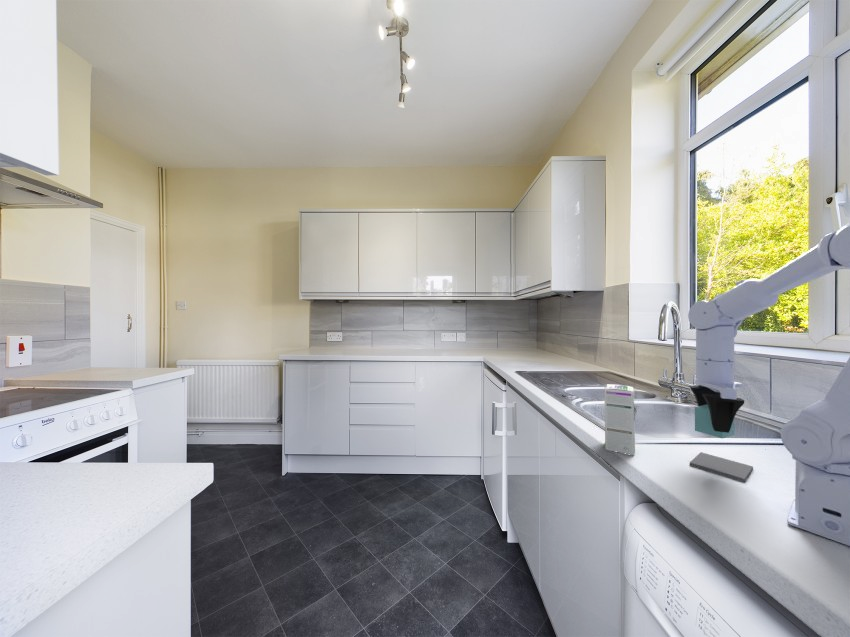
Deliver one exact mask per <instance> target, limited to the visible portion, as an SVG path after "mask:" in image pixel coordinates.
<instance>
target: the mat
mask: <svg viewBox="0 0 850 637" xmlns="http://www.w3.org/2000/svg"><path fill="white" fill-rule="evenodd" d="M689 466H690V467H694V468H697V469H701V470H704V471H708V472H711V473H714V474H717V475H721V476H723V477H726V478H730V479H733V480H737V481H740V482H743V483H745V482H746V481H747V480H748V478H749V476H750V475H751V473H752V471H753V470H754V466H752V465H750V464H749V465H748V464H745V463H742V462H738V461H735V460H731V459H727V458H723V457H720V456H716V455H713V454H709V453H706V452H702V451H701V452H700V453H698V454H696V456H695V457H694V458H693V459H692V460H690V461H689Z"/></svg>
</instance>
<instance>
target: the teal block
mask: <svg viewBox="0 0 850 637" xmlns="http://www.w3.org/2000/svg"><path fill="white" fill-rule="evenodd" d="M735 424H736V423H735V419H734V420H733V423H732V426H731V429H730V431H729V433H726V432H718V431H714V429H713V426H712V422H711V415H710V411H709V407H708V405H707V404H706V405H702V406H698V405H697V406H694V431H695V432H698V433H702V434H705V435H709V436H712V437H715V438H716V437H717V438H720V439H726V438H729V437H733V436H735V433H736V432H735V427H736V426H735Z"/></svg>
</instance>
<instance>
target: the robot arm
mask: <svg viewBox="0 0 850 637" xmlns="http://www.w3.org/2000/svg"><path fill="white" fill-rule="evenodd" d="M839 270H850V222H848V223H846V224H845V225H843V226H842V227H840V228H839V229H838V230H836V231H832V232H830V233H828V234H825V235H824V236H822V238H821V239H820V241H819V242H818V243H817V244H816V245H815V246H814V247H812V248H810V249H809V250H807V251H806V252H804V253H802V254H801V255H799V256H797V257H796V258H794V259H792V260H791V261H789V262H787V263H786V264H785V265H783V266H781V267H780V268H778V269H776V270H775V271H773V272H772V273H770V274H769V275H767V276H765V277H764V278H762V279H760V278H749V279H740V280H738V281H737V282H735V285H736V286H734V287H733V288H730V289H729V290H727V291H725V292H723V293H719V294H716V295H715V296H714V297H713V299H711V300H709V301H708V300H698V301H696V302H695V303H693V305H692V306H691V307H690V308H689V311H688V315H687V316H688V321H689V323H690V325H691V326H692V327H693V328H695V378H694V384H696V385H690V386H689V390H691V392H692V394H693V396H694V398H695V401H696V404H697V406H702V405H706V404H707V405H708V407H709V411H710V415H711V422H712V426H713V429H714V431H718V432H726V433H729V431H730V429H731V426H732V423H733V420H734V421H735V417H736V415H737V413H738V411H739V409H741V407H742V406H743V405H744V404H745V400H744V399H743V398H739V397H737V393H738V392H737V388H743V383H741V382H739V381H735V338H736V336H737V335H738V328H739V327H740V326H741V325H742V324H743V322H744V319H746V318H749V317H751V316H753V315H756V314H758V313H761V312H762V311H764V310H767V309H769V308H771V307H773V306H775V305H776V304H778V301H779V297H780V295H782V294H784V293H786V292H788V291H791V290H793V289H796V288H798V287H800V286H802V285H804V284H805V285H806V284H808V283H810V282H811V281H812V282H813V281H814V280H817V279H819V278H821V277H824V276H826V275H829V274H830V273H834V272H836V271H839ZM780 440H781V442H782V444H783V446H784V447H785V449H786V450H787V452H788V453H790V455H791V457H792V459H793V460H795V476H794V477H795V478H794V479H795V480H794V481H795V483H794V485H795V489H794V490H795V494H794V496H795V498H794V499H793V501H792V504H791V507H790V510H789V514H788V517H787V519H786V521H787V524H789V525H790V526H792V527H796V528H798V529H801V530H804V531H806V532H810V533H813V534H815V535H818V536H821V537H824V538H826V539H829V540H831V541H832V540H833V541H834V542H837V543H840V544H843V545H845V546H848V547H850V356H849V357H848V359H847V361H846V363H844V366H843V367H842V369H841V370H840V372H839V374H838V375H837V377H836V378H835V379H834V382H833V383H832V385H831V387H830V388H829V389H828V392H827V393H826V395H825V396H824V397H823V398H822V399H820V400H818V401H816V402H814V403H812V404H810V405H808V406H806V407H805V408H803V409H802V410H801V412H799V414H798V416H796V418H794V419H791V420H789V421H787V422H785V423H784V424H783V425H782V427H781V429H780Z"/></svg>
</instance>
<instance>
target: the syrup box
mask: <svg viewBox="0 0 850 637" xmlns="http://www.w3.org/2000/svg"><path fill="white" fill-rule="evenodd" d="M634 391H635V389H634V386H632V385H631V386H630V385H625V384H618V383H617V384H616V383H615V384H614V383H613V384H612V383H611V384H609V383H607V384H605V387H604V436H605V437H604V439H605V440H604V441H605V442H604V444H605V445H604V446H605V448H604V449H605V450H606V451H608V452H612V451H617V452H621V453H620V454H622V453H626V454H625V455H627V454H630V455H629V456H632V455H634V456H635V454H636V414H635V410H636V409H635V392H634ZM617 452H616V453H617Z"/></svg>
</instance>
